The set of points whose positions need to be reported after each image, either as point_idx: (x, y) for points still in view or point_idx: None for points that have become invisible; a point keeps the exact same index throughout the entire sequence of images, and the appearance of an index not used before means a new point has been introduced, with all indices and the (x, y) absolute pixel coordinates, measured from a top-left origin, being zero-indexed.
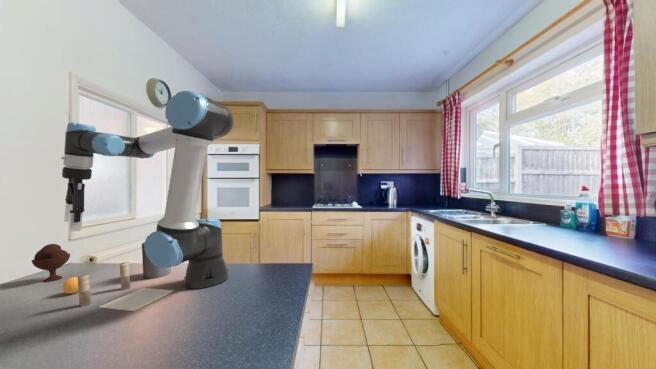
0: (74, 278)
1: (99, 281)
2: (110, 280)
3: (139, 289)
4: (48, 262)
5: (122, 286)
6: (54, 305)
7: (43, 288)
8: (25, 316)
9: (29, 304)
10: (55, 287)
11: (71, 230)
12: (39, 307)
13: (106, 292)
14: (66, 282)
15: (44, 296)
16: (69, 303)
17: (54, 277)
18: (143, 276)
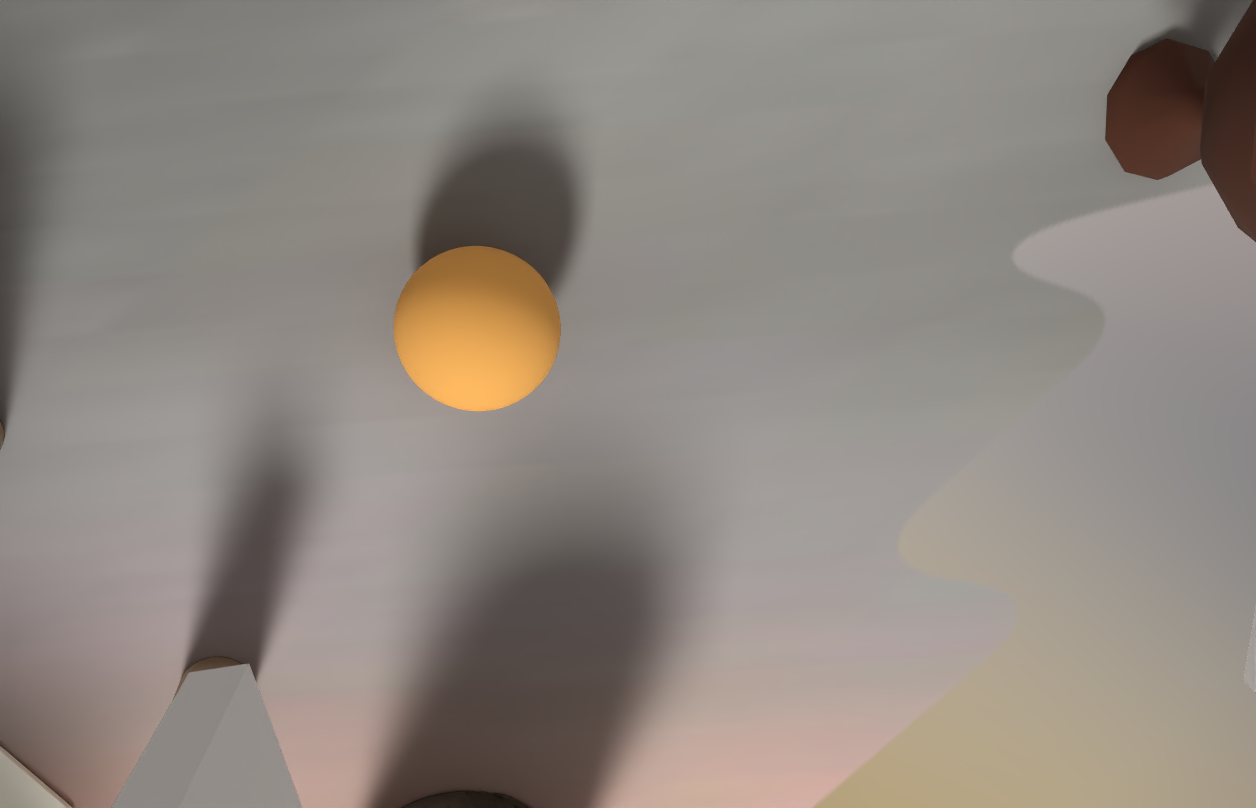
0: (450, 359)
1: (686, 475)
2: (630, 554)
3: (45, 791)
4: (1232, 83)
5: (180, 685)
6: (177, 203)
7: (904, 62)
8: (13, 16)
9: (419, 7)
10: (837, 154)
11: (187, 711)
12: (226, 95)
13: (226, 555)
14: (434, 291)
15: (591, 97)
16: (128, 311)
17: (1146, 123)
18: (443, 801)
